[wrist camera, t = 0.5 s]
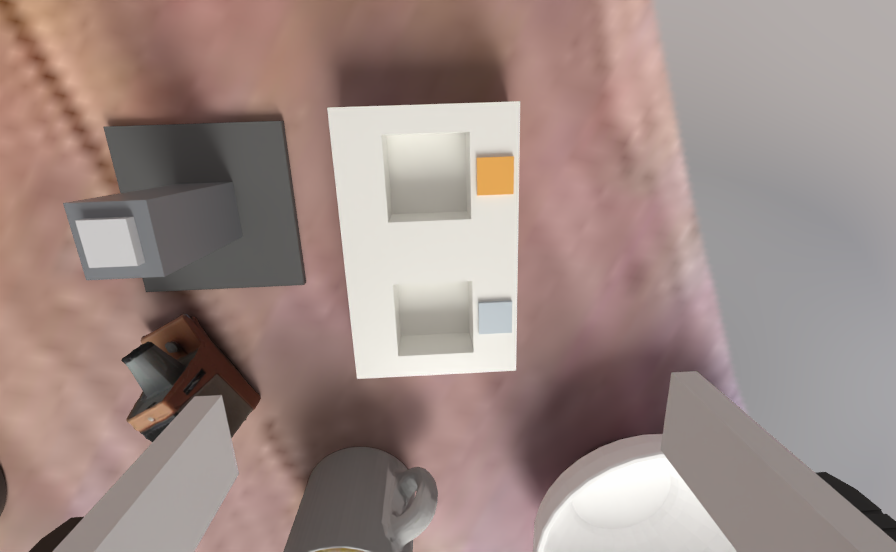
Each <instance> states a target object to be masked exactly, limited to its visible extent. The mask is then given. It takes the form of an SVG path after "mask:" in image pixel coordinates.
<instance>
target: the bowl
mask: <svg viewBox="0 0 896 552" xmlns="http://www.w3.org/2000/svg"><path fill="white" fill-rule="evenodd" d="M662 436H663V434H648V435H639V436H635V437H630V438H625V439H620V440H618V441H615V442H612V443H610V444H607V445H605V446H602V447H599V448H597V449H596V450H594V451H592V452H590V453H589V454H587V455H585V456H583V457H582V458H580V459H579V460H577V461H576V462H575V463H574V464H572V465H571V466H570V467H569V468H568V469H566V470H565V471H564V472H563V473H562V474H561V475H560V476H559V477H558V478H557V480H556V481H555V482H554V483H553V484H552V485H551V487H550V488H549V489H548V491H547V493H546V495H545V496H544V498H543V500H542V502H541V504H540V506H539V509H538V512H537V515H536V519H535V522H534V539H533V552H737V551H736V550H735V548H734V547H733V546H732V544H731V543H730V542H729V540H728V539H727V538H726V536H725V535H724V534H723V532H722V531H721V530H720V528H719V527H718V526H717V524H716V523H715V522H714V520H713V519H712V518H711V516H710V515H709V514H708V512H707V511H706V510H705V508H704V507H703V506H702V504H701V503H700V502H699V500H698V499H697V498H696V496H695V495H694V494H693V492H692V491H691V490H690V488H689V487H688V486H687V484H686V483H685V482H684V480H683V479H682V478H681V476H680V475H679V474H678V472H677V471H676V470H675V468H674V467H673V466H672V464H671V463H670V462H669V460H668V459H667V458H666V456H665V455H664V454H663V452H662V451H661V443H662Z"/></svg>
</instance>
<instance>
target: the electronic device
mask: <svg viewBox="0 0 896 552" xmlns="http://www.w3.org/2000/svg"><path fill="white" fill-rule="evenodd" d="M141 343H142V345H140V346H139V347H138V348H136V349H134V350H133V351H132V352H131V353H130V354H128V355H127V356H125V357H124V358H122V362H124V363H125V364H126V365H127V366H128V368H129V369H130V371H131V372H132V374H133V375H134V377H135V379H136V380H137V382H138V383H139V385H140V387H141V388H142V390H143V392H142V394H141V396H140V398H139V399H138V400H137V402H136V403H135V405H134V407H133V409H132V410H131V412H130V414H129V416H128V417H127V422H128V423H130V424H131V425H132V426H133V427H134V429H135V430H137V431H139V432H140V433H141V434H143V435H144V436H145V438H146V439H148V440H150V441H151V442H153V441H154V440H155V439H156V438H157V437H158V436H159V435H160V434H161V433H162V432H163V430H164V429H165V428H166V427H167V426H168V425H169V424H170V423H171V422H172V421H173V420H174V418H175V417H176V416H177V415H178V414H179V413H180V412H181V411H182V410H183V409H184V408H185V406H186V405H187V404H188V403H189V402H190V401H191V400H192V399H193V398H194V397H195V396H214V395H222V398H223V403H224V407H225V412H226V417H227V421H228V426H229V430H230V435H231V438H232V437H233V435H234V434H235V433H236V431H237V430H238V429H239V427H240V426H241V424H242V423H243V422H244V421H245V420H246V418H247V416H248V415H249V414H250V412H252V411H253V410H254V409H255V408H256V406H257V404H258V403H259V401H260V399H261V397H260V395H259V394H258V393H257V392H255V391H254V389H253V388H252V387H251V386H250V385H249V384H248V383H247V382H246V381H245V379H244V378H243V377H242V375H241V374H240V373H239V371H238V370H237V369H236V368H235V367H234V366H233V364H232V363H231V361H230V360H229V359H228V358H227V357H226V356H225V355H224V354H223V353H222V351H221V350H220V349H219V348H218V347H217V346H215V345H214V344H213V342H212V341H211V340H210V339H209V336H208V335H207V334H206V333H205V331H204V329H203V328H202V327H201V326H200V325H199V323H198V320H197V318H195V317H194V316H192V317H191V318H190V317H189V316H188V315H187V314H182V315H180V317H178V318H176V319H174V320H173V321H171V322H169V323H167V324H166V325H164V326H162V327H160V328H159V329H157V330H155V331H154V332H152V333H150V334H148V335H146V336H143V337H142V339H141Z"/></svg>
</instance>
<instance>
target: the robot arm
mask: <svg viewBox="0 0 896 552" xmlns="http://www.w3.org/2000/svg"><path fill="white" fill-rule="evenodd" d="M661 451H662V452H663V454H664V455H665V456H666V458H667V459H668V460H669V462H670V463H671V464H672V466H673V467H674V468H675V470H676V471H677V472H678V474H679V475H680V476H681V478H682V479H683V480H684V482H685V483H686V484H687V486H688V487H689V488H690V490H691V491H692V492H693V494H694V495H695V496H696V498H697V499H698V500H699V502H700V503H701V504H702V506H703V507H704V508H705V510H706V511H707V512H708V514H709V515H710V516H711V518H712V519H713V520H714V522H715V523H716V524H717V526H718V527H719V528H720V530H721V531H722V532H723V534H724V535H725V536H726V538H727V539H728V540H729V542H730V543H731V544H732V546H733V547H734V548H735V550H736V551H737V552H896V521H895V520H893V519H892V518H891V517H890V516H888V515H887V514H883V513H882V511H881V509H880V508H879V507H877V506H876V505H875V504H874V503H872V502H871V501H870V500H869V499H868V498H866V497H865V496H864V495H863V494H861V493H860V492H859V491H858V490H856V489H855V488H853V487H851V486H850V485H848V484H846V483H844V482H842V481H841V480H839V479H837V478H835V477H833V476H832V475H830V474H828V473H826V472H819V473H815V472H814V471H812V470H811V469H810V468H809V467H808V466H807V465H805V464H804V463H803V462H802V461H801V460H800V459H798V458H797V457H796V456H795V455H794V454H793V453H791V452H790V451H789V450H788V449H787V448H785V446H783V445H782V444H781V443H780V442H779V441H777V440H776V439H775V438H774V437H773V436H772V435H771V434H769V433H768V432H767V431H766V430H765V429H763V428H762V427H761V426H760V425H759V424H757V422H755V421H754V420H753V419H752V418H751V417H750V416H748V415H747V414H746V413H745V412H744V411H743V410H741V409H740V408H739V407H738V406H737V405H736V404H734V403H733V402H732V401H731V400H730V399H729V398H727V397H726V396H725V395H724V394H723V393H722V392H720V391H719V390H718V389H717V388H716V387H715V386H713V385H712V384H711V383H710V382H709V381H708V380H706V379H705V378H704V377H703V376H702V375H701V374H699V373H698V372H697V371H691V372H671V379H670V386H669V393H668V401H667V408H666V415H665V422H664V429H663V436H662V443H661ZM238 474H239V472H238V467H237V463H236V458H235V454H234V449H233V444H232V440H231V435H230V430H229V426H228V421H227V417H226V412H225V407H224V403H223V398H222V395H214V396H195V397H194V398H193V399H192V400H191V401H190V402H189V403H188V404H187V405H186V406H185V408H184V409H183V410H182V411H181V412H180V413H179V414H178V415H177V416H176V417H175V418H174V420H173V421H172V422H171V423H170V424H169V425H168V426H167V427H166V428H165V429H164V430H163V432H162V433H161V434H160V435H159V436H158V437H157V438H156V439H155V440H154V441H153V442H152V444H151V445H150V446H149V447H148V448H147V449H146V450H145V451H144V452H143V453H142V454H141V456H140V457H139V458H138V459H137V460H136V461H135V462H134V463H133V464H132V465H131V466H130V468H129V469H128V470H127V471H126V472H125V473H124V474H123V475H122V476H121V477H120V478H119V480H118V481H117V482H116V483H115V484H114V485H113V486H112V487H111V488H110V489H109V490H108V492H107V493H106V494H105V495H104V496H103V497H102V498H101V499H100V500H99V501H98V502H97V504H96V505H95V506H94V507H93V508H92V509H91V510H90V511H89V512H88V513H87V514H86V516H85V517H74V518H70V519H69V520H67V521H66V522H65V523H63V524H62V525H60V526H59V527H58V528H56V529H55V530H53V531H52V532H51V533H49V534H48V535H46V536H45V537H44V538H42V539H41V540H40V541H39V542H38V543H37V544H36V545H35V546H34V547H33V548H32V549H31V550H30V551H29V552H194V551H195V549H196V548H197V546H198V544H199V542H200V541H201V539H202V537H203V535H204V534H205V532H206V530H207V528H208V527H209V525H210V523H211V521H212V520H213V518H214V516H215V514H216V513H217V511H218V509H219V507H220V506H221V504H222V502H223V500H224V499H225V497H226V495H227V493H228V492H229V490H230V488H231V486H232V485H233V483H234V481H235V479H236V478H237V476H238ZM5 502H6V485H5V480H4V476H3V474H2V471H1V469H0V515H1V514H2V512H3V509H4V506H5Z"/></svg>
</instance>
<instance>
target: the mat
mask: <svg viewBox="0 0 896 552" xmlns="http://www.w3.org/2000/svg"><path fill="white" fill-rule="evenodd" d="M104 131H105V135H106V138H107V142H108V146H109V150H110V154H111V158H112V162H113V166H114V169H115V173H116V177H117V181H118V185H119V189H120V193H126V192H132V191H138V190H144V189H150V188H156V187H161V186H167V185H173V184H190V183H216V182H233V185H234V191H235V197H236V202H237V208H238V213H239V219H240V224H241V230H242V235H243V237H241V238H239V239H237V240H235V241H233V242H231V243H229V244H227V245H225V246H223V247H221V248H219V249H217V250H216V251H214V252H212V253H210V254H208V255H206V256H204V257H202V258H200V259H198V260H196V261H194V262H192V263H190V264H188V265H186V266H184V267H182V268H181V269H179V270H177V271H175V272H173V273H171V274H169V275H167V276H165V277H147V278H143V282H144V285H145V289H146V292H158V291H180V290H202V289H224V288H246V287H268V286H290V285H304V284H305V283H306V278H305V271H304V264H303V257H302V250H301V242H300V235H299V228H298V221H297V214H296V207H295V199H294V192H293V185H292V178H291V171H290V164H289V156H288V149H287V142H286V135H285V128H284V121H262V122H232V123H202V124H172V125H141V126H111V127H104Z"/></svg>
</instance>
